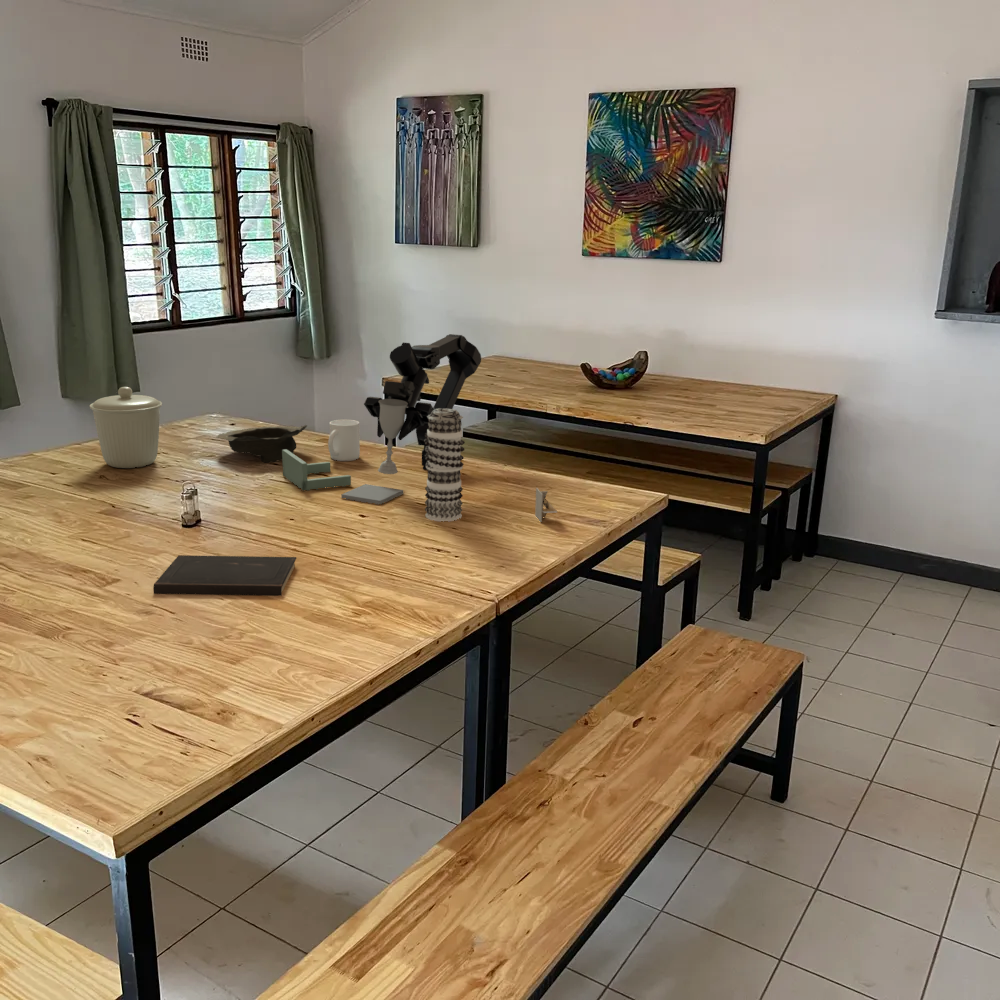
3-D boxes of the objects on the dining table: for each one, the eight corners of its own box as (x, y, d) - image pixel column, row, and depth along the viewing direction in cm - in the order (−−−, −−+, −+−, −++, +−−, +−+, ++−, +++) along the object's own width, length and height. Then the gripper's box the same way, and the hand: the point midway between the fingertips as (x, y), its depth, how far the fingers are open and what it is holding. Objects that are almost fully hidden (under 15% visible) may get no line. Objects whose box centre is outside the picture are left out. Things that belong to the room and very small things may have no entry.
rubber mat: (365, 487, 248) (365, 484, 248) (403, 493, 244) (403, 489, 243) (341, 498, 238) (341, 494, 238) (380, 504, 234) (380, 500, 234)
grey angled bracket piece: (548, 517, 230) (550, 487, 228) (556, 526, 223) (557, 495, 221) (534, 518, 229) (535, 487, 227) (541, 527, 223) (543, 495, 220)
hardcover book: (179, 566, 192) (178, 555, 191) (296, 567, 193) (296, 557, 192) (153, 596, 177) (152, 585, 176) (281, 598, 177) (281, 586, 177)
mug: (341, 465, 269) (341, 429, 266) (316, 462, 272) (315, 425, 269) (365, 456, 279) (365, 421, 276) (341, 453, 282) (340, 418, 279)
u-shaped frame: (328, 470, 263) (328, 445, 261) (351, 485, 250) (350, 458, 248) (283, 475, 257) (282, 449, 255) (303, 490, 243) (302, 463, 241)
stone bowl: (298, 466, 266) (294, 433, 263) (207, 470, 266) (202, 437, 263) (316, 444, 289) (312, 414, 286) (232, 448, 290) (228, 418, 287)
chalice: (398, 466, 253) (404, 399, 247) (405, 475, 247) (410, 406, 241) (371, 466, 250) (375, 398, 244) (376, 475, 244) (381, 405, 238)
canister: (140, 452, 276) (134, 378, 270) (180, 463, 266) (175, 386, 260) (81, 464, 262) (73, 386, 256) (121, 476, 252) (114, 395, 246)
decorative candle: (415, 515, 226) (415, 409, 219) (444, 508, 233) (445, 404, 226) (442, 524, 220) (444, 415, 213) (471, 516, 227) (473, 410, 220)
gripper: (367, 365, 248) (344, 415, 241) (432, 371, 240) (410, 423, 234) (383, 391, 257) (361, 440, 250) (446, 398, 249) (425, 449, 243)
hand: (388, 437), depth 244 cm, fingers closed on chalice, 6 cm apart
